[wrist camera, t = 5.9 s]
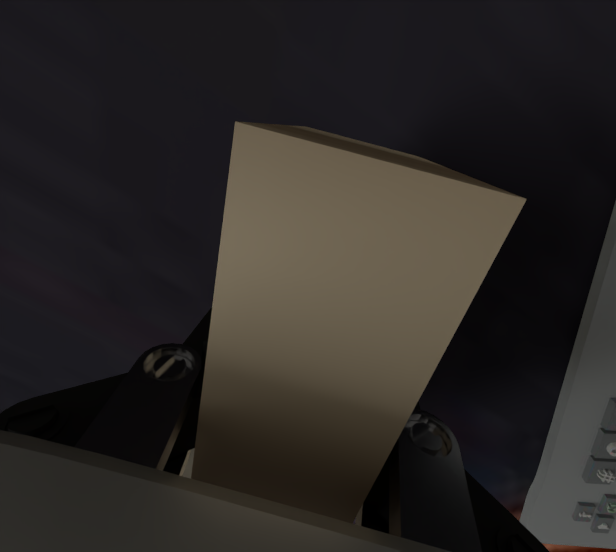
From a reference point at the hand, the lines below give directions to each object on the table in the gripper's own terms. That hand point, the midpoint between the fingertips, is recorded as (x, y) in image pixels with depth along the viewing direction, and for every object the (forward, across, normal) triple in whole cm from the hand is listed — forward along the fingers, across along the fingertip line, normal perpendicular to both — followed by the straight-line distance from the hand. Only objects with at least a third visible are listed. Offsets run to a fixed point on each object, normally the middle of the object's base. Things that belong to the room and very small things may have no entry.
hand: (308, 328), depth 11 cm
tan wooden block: (+1, 0, 0) cm, 1 cm away
